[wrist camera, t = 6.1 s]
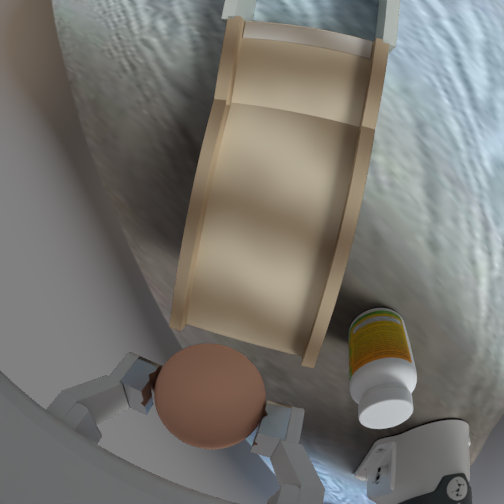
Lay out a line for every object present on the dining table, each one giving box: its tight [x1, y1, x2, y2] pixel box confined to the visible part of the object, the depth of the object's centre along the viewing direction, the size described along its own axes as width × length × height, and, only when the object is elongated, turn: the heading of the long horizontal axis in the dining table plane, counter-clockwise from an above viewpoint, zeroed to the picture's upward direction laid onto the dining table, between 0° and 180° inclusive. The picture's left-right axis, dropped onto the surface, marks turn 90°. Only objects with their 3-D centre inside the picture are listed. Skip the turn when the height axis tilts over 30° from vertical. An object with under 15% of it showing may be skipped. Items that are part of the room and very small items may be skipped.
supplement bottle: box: [349, 308, 417, 429], centre depth 20 cm, size 5×5×10 cm
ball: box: [154, 344, 266, 449], centre depth 10 cm, size 4×4×4 cm
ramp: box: [169, 16, 389, 368], centre depth 17 cm, size 20×10×8 cm, turn 172°
